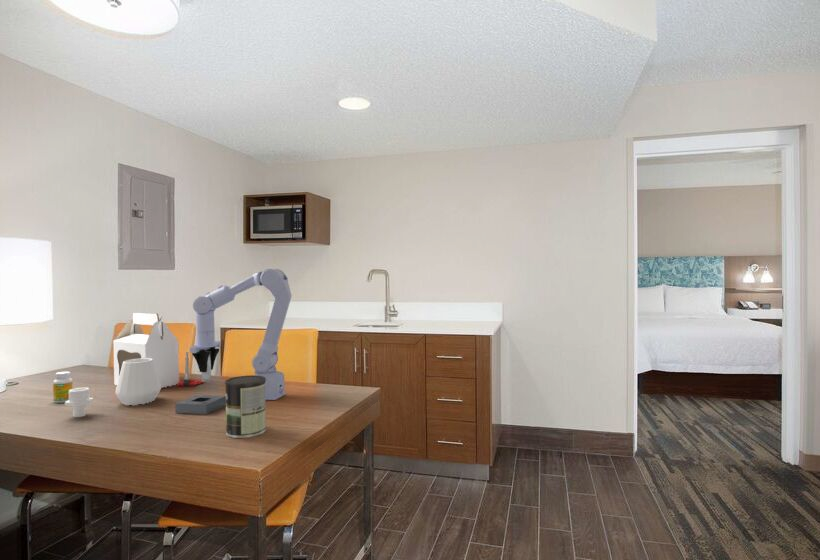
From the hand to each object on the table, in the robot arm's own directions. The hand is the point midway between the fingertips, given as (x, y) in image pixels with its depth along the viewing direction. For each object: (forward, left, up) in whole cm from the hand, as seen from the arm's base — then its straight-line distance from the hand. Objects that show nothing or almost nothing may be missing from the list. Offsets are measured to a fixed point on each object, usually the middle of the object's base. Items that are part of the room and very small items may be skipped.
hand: (206, 370), depth 165 cm
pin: (0, 0, -3) cm, 3 cm away
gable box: (+36, -15, -10) cm, 40 cm away
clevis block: (-7, +13, -9) cm, 17 cm away
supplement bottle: (+47, +11, -10) cm, 49 cm away
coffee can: (-33, +31, -10) cm, 46 cm away
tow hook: (+20, -19, -10) cm, 29 cm away
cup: (+20, +8, -10) cm, 24 cm away
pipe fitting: (+26, +25, -10) cm, 37 cm away
